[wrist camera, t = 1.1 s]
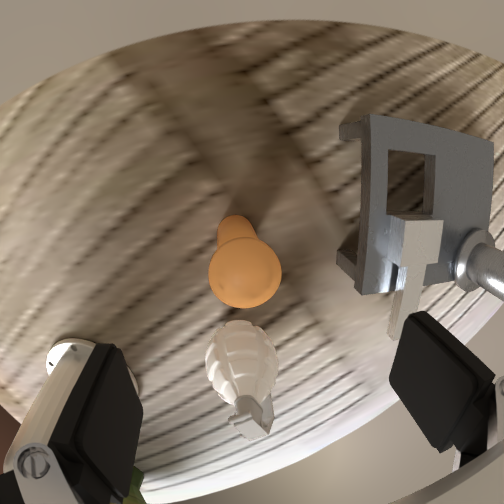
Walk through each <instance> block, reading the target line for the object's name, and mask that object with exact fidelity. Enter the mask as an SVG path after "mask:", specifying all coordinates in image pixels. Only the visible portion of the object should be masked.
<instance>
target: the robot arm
mask: <svg viewBox="0 0 504 504" xmlns="http://www.w3.org/2000/svg"><path fill="white" fill-rule="evenodd" d="M46 365H47V371H48V374H49V377H48V378H47V380H46V382H45V383H44V385H43V387H42V388H41V390H40V392H39V394H38V395H37V397H36V399H35V401H34V402H33V404H32V406H31V408H30V410H29V412H28V413H27V415H26V417H25V419H24V421H23V423H22V425H21V427H20V429H19V431H18V433H17V435H16V437H15V439H14V441H13V443H12V445H11V447H10V449H9V451H8V453H7V456H6V458H5V461H4V469H3V470H4V473H3V474H1V475H0V504H110V503H115V504H123V498H127V497H128V495H129V490H130V484H131V478H132V471H133V465H134V460H135V454H136V449H137V443H138V438H139V433H140V428H141V423H142V418H143V407H142V404H141V402H140V399H139V397H138V385H137V382H136V379H135V377H134V376H133V374H132V372H131V371H130V369H129V368H128V367H127V365H126V362H125V359H124V356H123V353H122V351H121V349H119V348H116V346H115V345H114V344H95V343H93V342H91V341H87V340H83V339H76V338H70V339H64V340H61V341H58V342H57V343H56V344H54V345H53V347H52V348H51V349H50V351H49V353H48V355H47V359H46ZM494 377H495V374H494V373H493V372H492V371H491V370H490V369H489V368H488V367H487V366H486V365H485V364H484V363H483V362H482V361H481V360H480V359H479V358H477V357H476V356H475V355H474V354H473V353H472V352H471V351H470V350H469V349H468V348H467V347H466V346H465V345H463V344H462V343H461V342H460V341H459V340H458V339H457V338H456V337H455V336H453V335H452V334H451V333H450V332H449V331H448V330H447V329H446V328H444V327H443V326H442V325H441V324H440V323H439V322H438V321H436V320H435V319H434V318H433V317H432V316H431V315H429V314H428V313H427V312H426V311H419V312H415V313H411V314H409V315H408V317H407V319H405V321H404V324H403V328H402V332H401V336H400V340H399V344H398V348H397V352H396V355H395V359H394V362H393V365H392V369H391V372H390V375H389V382H390V385H391V386H392V388H393V389H394V391H395V392H396V394H397V395H398V396H399V398H400V399H401V401H402V402H403V404H404V405H405V407H406V408H407V410H408V411H409V413H410V414H411V416H412V417H413V419H414V420H415V422H416V423H417V425H418V426H419V427H420V429H421V430H422V432H423V434H424V435H425V436H426V438H427V440H428V441H429V443H430V444H431V446H433V447H434V448H437V450H438V451H439V453H442V452H444V451H446V450H448V449H449V448H451V447H452V446H453V444H454V445H455V447H456V453H455V459H454V466H453V470H452V473H451V474H449V475H447V476H446V477H444V478H442V479H440V480H439V481H437V482H435V483H433V484H431V485H429V486H427V487H425V488H423V489H421V490H419V491H417V492H415V493H412V494H410V495H408V496H406V497H404V498H401V499H399V500H397V501H394V502H392V503H389V504H504V376H502V377H500V378H499V379H498V380H497V381H496V383H495V385H494V384H493V383H492V381H493V379H494Z"/></svg>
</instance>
